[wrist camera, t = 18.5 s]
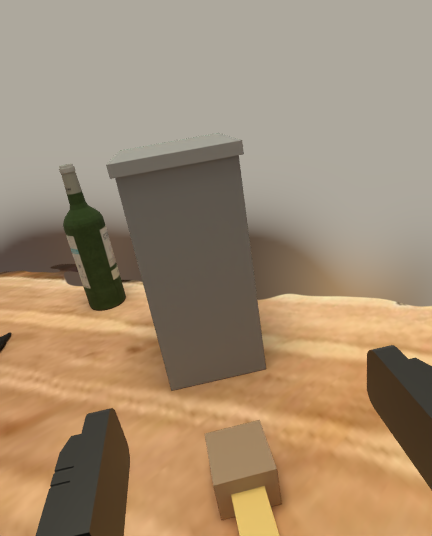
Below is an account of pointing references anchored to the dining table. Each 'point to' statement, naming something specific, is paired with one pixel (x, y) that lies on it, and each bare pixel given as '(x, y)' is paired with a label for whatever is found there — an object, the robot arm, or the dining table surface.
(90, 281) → the wine bottle
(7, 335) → the microphone
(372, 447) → the dining table surface
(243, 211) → the stand
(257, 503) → the peg
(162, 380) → the dining table surface
